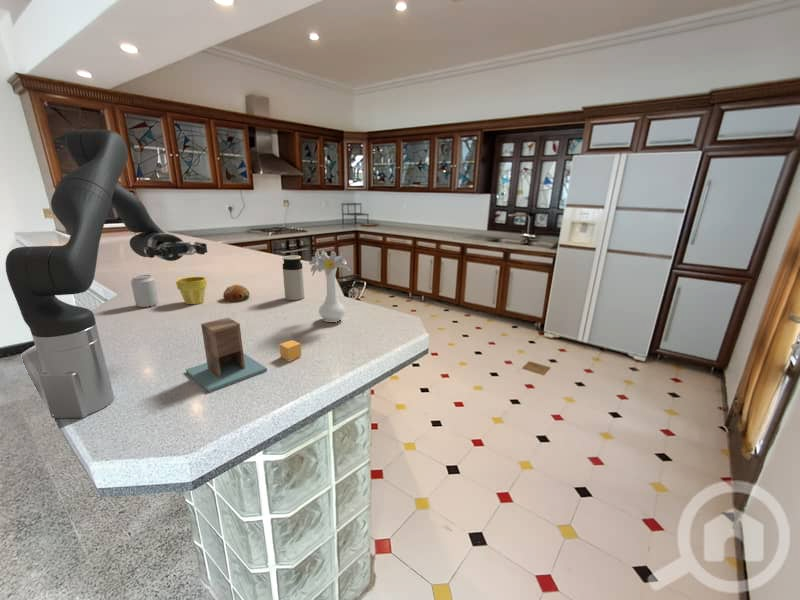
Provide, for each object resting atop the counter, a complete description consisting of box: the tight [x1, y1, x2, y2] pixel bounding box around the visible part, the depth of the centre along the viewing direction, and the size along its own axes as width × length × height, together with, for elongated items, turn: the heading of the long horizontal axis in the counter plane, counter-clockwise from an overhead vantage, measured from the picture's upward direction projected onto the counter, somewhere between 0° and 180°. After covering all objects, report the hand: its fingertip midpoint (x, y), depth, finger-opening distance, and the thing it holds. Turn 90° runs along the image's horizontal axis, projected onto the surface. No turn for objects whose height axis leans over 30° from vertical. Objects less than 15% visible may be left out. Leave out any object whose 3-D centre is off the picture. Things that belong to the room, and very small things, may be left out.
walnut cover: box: [200, 317, 245, 377], centre depth 86 cm, size 6×6×12 cm
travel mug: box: [282, 255, 305, 301], centre depth 149 cm, size 8×8×18 cm
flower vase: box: [308, 250, 351, 323], centre depth 122 cm, size 13×18×25 cm
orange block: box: [279, 339, 302, 362], centre depth 96 cm, size 4×4×4 cm
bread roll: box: [222, 284, 250, 303], centre depth 149 cm, size 10×10×8 cm
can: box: [130, 274, 160, 308], centre depth 137 cm, size 8×8×12 cm
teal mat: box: [185, 352, 268, 394], centre depth 88 cm, size 14×14×1 cm
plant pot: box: [175, 276, 207, 305], centre depth 142 cm, size 10×10×10 cm
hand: (185, 252), depth 92 cm, fingers open, 8 cm apart
